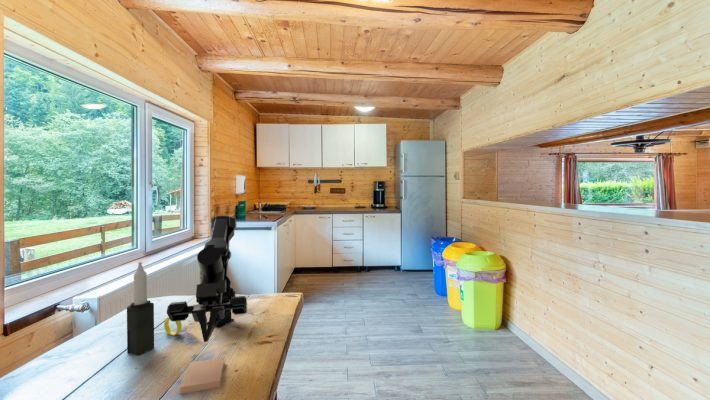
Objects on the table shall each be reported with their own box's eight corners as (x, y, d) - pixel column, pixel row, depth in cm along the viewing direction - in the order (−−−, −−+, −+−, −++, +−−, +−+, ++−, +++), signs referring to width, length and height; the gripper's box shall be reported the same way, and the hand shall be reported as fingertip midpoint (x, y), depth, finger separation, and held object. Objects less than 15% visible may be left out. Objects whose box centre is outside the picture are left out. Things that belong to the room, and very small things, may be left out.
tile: (190, 362, 75) (180, 387, 66) (224, 357, 78) (219, 380, 68) (190, 370, 75) (180, 396, 66) (224, 365, 78) (219, 389, 68)
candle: (156, 347, 85) (155, 260, 85) (138, 356, 81) (137, 264, 80) (143, 344, 87) (142, 259, 86) (125, 352, 82) (124, 263, 82)
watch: (162, 335, 93) (161, 316, 93) (170, 331, 96) (169, 313, 96) (176, 337, 91) (175, 318, 91) (184, 333, 94) (183, 314, 94)
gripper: (168, 271, 76) (154, 334, 65) (246, 266, 81) (244, 323, 71) (176, 292, 83) (165, 351, 73) (247, 286, 89) (246, 340, 79)
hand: (205, 341), depth 74 cm, fingers closed
